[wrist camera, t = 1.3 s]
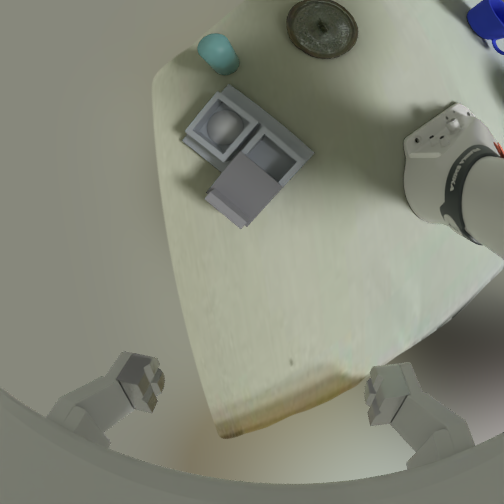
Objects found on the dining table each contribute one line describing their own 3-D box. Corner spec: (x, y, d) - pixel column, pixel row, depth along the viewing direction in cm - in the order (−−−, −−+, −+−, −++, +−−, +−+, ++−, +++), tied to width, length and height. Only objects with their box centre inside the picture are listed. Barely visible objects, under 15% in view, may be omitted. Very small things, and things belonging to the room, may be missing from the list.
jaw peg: (224, 48, 32) (211, 28, 24) (244, 61, 33) (235, 42, 25) (207, 66, 33) (191, 50, 26) (227, 79, 34) (214, 65, 27)
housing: (184, 140, 38) (174, 140, 34) (230, 85, 34) (224, 79, 30) (264, 206, 41) (262, 212, 37) (313, 152, 37) (317, 153, 33)
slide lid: (207, 191, 36) (200, 195, 33) (241, 151, 34) (236, 151, 31) (247, 225, 37) (244, 232, 34) (282, 186, 35) (282, 190, 32)
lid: (357, 19, 27) (365, 7, 23) (349, 67, 31) (358, 58, 26) (291, 3, 28) (292, -12, 23) (280, 50, 31) (280, 38, 27)
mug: (486, 62, 24) (517, 55, 15) (455, 9, 21) (481, -7, 12) (505, 59, 22) (534, 53, 13) (476, 9, 19) (501, -4, 9)
